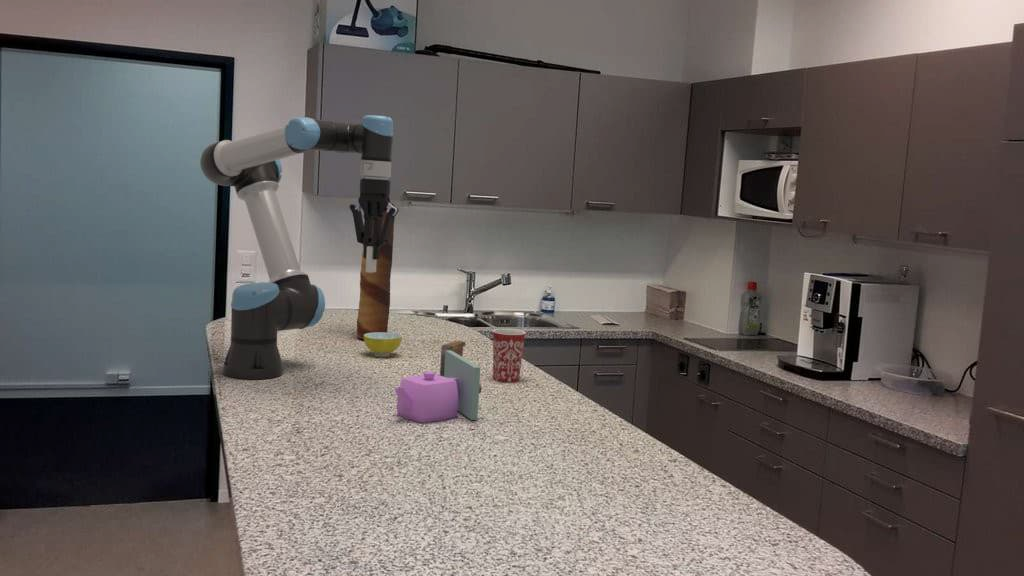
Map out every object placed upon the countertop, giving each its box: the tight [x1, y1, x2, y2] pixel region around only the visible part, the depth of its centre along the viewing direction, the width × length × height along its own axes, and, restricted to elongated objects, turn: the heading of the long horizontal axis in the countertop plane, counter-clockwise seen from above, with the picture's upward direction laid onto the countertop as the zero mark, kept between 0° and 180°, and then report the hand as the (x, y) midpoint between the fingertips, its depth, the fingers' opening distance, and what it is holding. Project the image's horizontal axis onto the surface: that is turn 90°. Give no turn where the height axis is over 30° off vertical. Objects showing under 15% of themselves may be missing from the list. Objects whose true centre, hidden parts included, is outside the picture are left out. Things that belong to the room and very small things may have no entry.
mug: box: [492, 328, 527, 383], centre depth 255 cm, size 13×9×14 cm
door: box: [444, 350, 482, 421], centre depth 217 cm, size 20×3×12 cm, turn 23°
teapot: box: [394, 371, 459, 424], centre depth 209 cm, size 18×10×10 cm, turn 134°
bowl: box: [363, 332, 403, 358], centre depth 276 cm, size 11×12×6 cm
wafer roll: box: [356, 201, 395, 340], centre depth 300 cm, size 10×11×45 cm
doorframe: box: [439, 340, 466, 377], centre depth 231 cm, size 3×10×13 cm, turn 161°
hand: (370, 271), depth 234 cm, fingers closed
